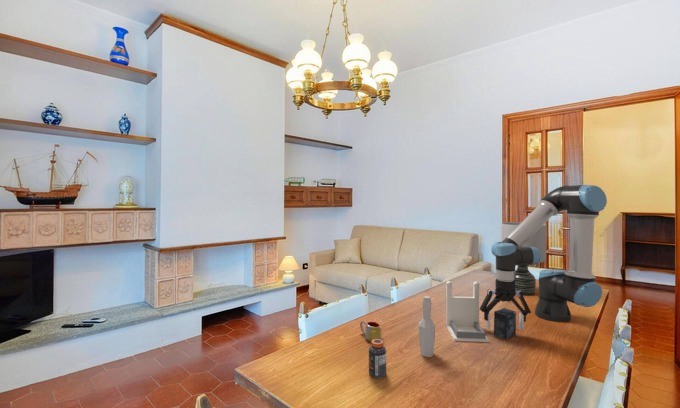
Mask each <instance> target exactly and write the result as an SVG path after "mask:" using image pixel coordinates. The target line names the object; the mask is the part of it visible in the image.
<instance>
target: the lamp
mask: <svg viewBox="0 0 680 408" xmlns="http://www.w3.org/2000/svg"><path fill="white" fill-rule="evenodd" d="M521 222H522V221H521ZM521 222H519V221H516V222H515V221H513V222H511V221H508V222H506V221H505V222H502V223H501V231H500V232H501V235H500V236H501V238H500V240H501V241H500V242H502V241H503V240H504V239H505V238H506V237H507V236H508V235H509V234H510V233H511V232H512V231H513V230H514V229H515V228H516V227H517V226H518V225H519V224H520V223H521ZM522 247H535V248H537V249H538V250H539V251H540V253H541V260H540V262H539V263H540V264H541V263H545V262H546V261H547V224H546V223H544V224H543V225H542V226H541V227H540V228H539V229H538V231H537V232H536V233H535V234H534V235H533V236H532V237H531V238H530V239H529V240H528V241H527V242H526V243H525V244H524V245H523V246H522ZM539 263H538V264H539ZM528 266H529V265H517V266H516V269H515V280H514V281H515V291H518V290H520V291H522V292H523V296H527V297H528V296H529V297H530V296H535V295H536V293H537V292H536V291H537V288H536V287H537V285H536V283H537V282H536V281H537V280H536V277H535V276H534V274H533V273H531V271H530V270H529V267H528Z"/></svg>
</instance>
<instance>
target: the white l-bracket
mask: <svg viewBox="0 0 680 408" xmlns="http://www.w3.org/2000/svg"><path fill="white" fill-rule="evenodd" d="M452 285H453V283H452V281H450V280H447V281H445V289H446V290H445V300H446V301H445V306H446V307H445V308H446V309H445V315H446V316H445V319H446V321H445V326H446V329H447V331H448V332H449V334H450V335H451V338H452V339H453V341H454V342H472V343H473V342H474V343H490V338H488V337H487V335H486V332H485V331H484V329H483V328H482V327H481V325H480V283H479V282H478V281H474V282H473V283H472V286H473V288H472V296H452V294H453V293H452V292H453V291H452V288H453V287H452Z"/></svg>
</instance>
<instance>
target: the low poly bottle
mask: <svg viewBox="0 0 680 408" xmlns="http://www.w3.org/2000/svg"><path fill="white" fill-rule="evenodd" d="M422 298H423V299H422V318H421V320H420V321H419V323H418V340H419V341H418V342H419V349H420V355H421V356H423V357H425V358H431V357H433V356H434V351H435V350H434V349H435V342H436V323H435V322H434V321H433V319H432V318H431V316H432V315H431V310H432V300H431V297H430V296H428V295H425V296H423V297H422Z"/></svg>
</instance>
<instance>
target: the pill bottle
mask: <svg viewBox="0 0 680 408" xmlns="http://www.w3.org/2000/svg"><path fill="white" fill-rule="evenodd" d="M370 343H371V345H370V346H369V347H368V374H369V375H370V376H371V377H373V378H375V379H379V378H380V379H381V378H384V377H386V375H387V349H386V347H385V346H384V341H383V339H382V340H381V339H373V340H372V341H371V342H370Z"/></svg>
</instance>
